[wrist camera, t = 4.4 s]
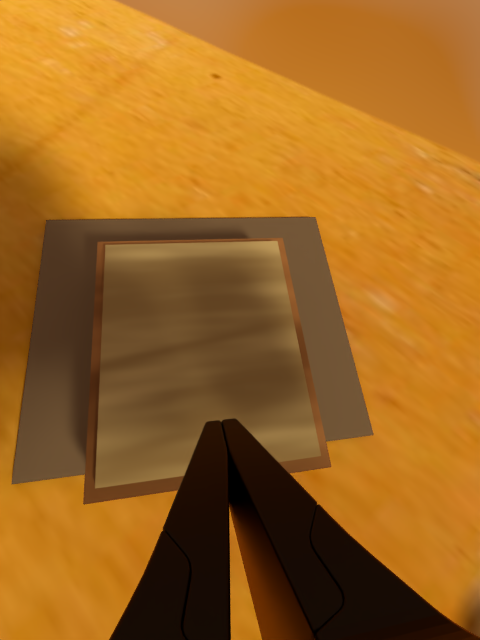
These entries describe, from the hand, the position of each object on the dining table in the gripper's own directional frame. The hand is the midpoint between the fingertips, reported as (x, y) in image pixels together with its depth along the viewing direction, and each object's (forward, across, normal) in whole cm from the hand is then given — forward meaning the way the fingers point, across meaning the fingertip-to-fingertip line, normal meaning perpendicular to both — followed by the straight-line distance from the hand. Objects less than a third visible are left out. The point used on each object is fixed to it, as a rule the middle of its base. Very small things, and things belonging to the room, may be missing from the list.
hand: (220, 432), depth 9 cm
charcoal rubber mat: (+11, 0, +1) cm, 11 cm away
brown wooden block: (+4, 0, +6) cm, 7 cm away
